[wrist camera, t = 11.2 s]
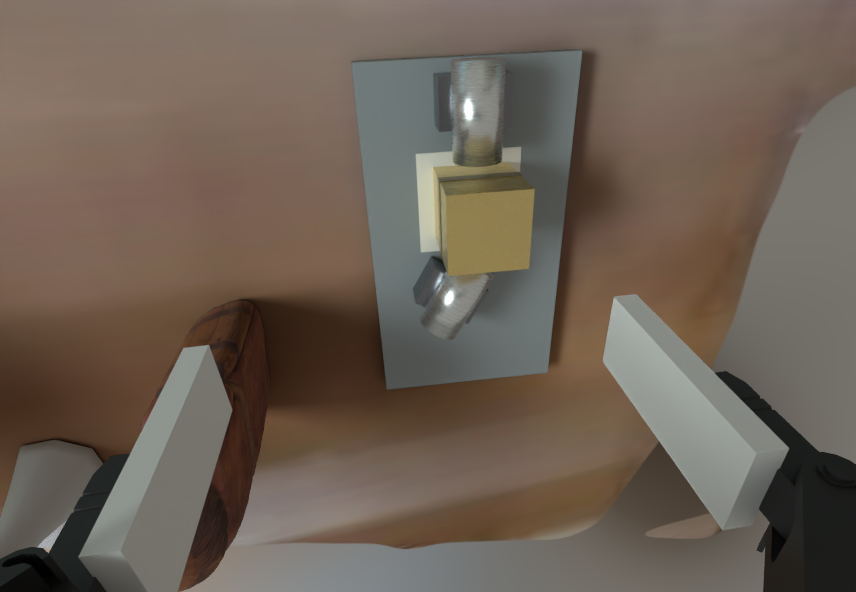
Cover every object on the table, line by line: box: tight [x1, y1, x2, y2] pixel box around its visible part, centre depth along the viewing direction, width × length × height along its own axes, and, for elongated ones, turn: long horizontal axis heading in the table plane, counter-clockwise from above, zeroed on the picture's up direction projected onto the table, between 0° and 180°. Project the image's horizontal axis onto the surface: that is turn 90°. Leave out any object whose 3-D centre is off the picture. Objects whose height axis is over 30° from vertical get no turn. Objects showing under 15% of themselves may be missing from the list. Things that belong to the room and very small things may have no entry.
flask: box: [0, 440, 103, 559], centre depth 38 cm, size 7×7×10 cm
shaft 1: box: [433, 57, 514, 167], centre depth 28 cm, size 6×4×4 cm
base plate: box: [351, 49, 582, 390], centre depth 35 cm, size 25×14×1 cm, turn 2°
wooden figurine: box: [140, 300, 271, 592], centre depth 31 cm, size 12×6×18 cm, turn 175°
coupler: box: [433, 162, 535, 276], centre depth 30 cm, size 5×5×6 cm
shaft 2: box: [413, 256, 495, 340], centre depth 34 cm, size 6×4×4 cm
